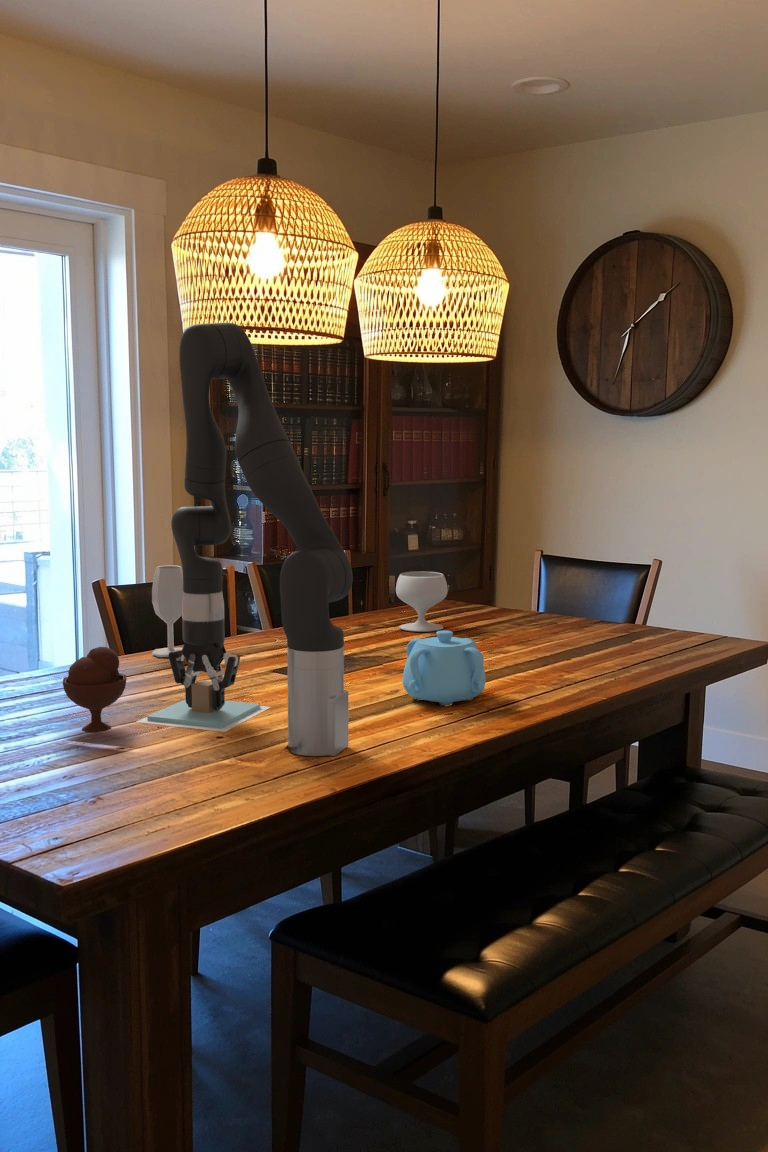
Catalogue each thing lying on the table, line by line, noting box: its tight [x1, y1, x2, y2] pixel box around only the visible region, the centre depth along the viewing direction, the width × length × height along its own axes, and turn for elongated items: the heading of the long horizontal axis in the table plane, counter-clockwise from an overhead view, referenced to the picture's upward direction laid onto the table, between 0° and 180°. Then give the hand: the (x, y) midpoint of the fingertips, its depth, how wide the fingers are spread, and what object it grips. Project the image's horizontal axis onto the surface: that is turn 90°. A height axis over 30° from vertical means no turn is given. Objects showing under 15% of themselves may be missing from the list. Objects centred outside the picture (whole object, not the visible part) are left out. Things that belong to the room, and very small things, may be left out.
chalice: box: [395, 570, 449, 633], centre depth 282 cm, size 14×14×15 cm
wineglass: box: [151, 564, 183, 658], centre depth 246 cm, size 9×9×21 cm
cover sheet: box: [146, 680, 261, 729], centre depth 191 cm, size 15×15×6 cm
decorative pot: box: [402, 630, 486, 706], centre depth 205 cm, size 16×16×14 cm
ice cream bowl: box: [62, 646, 128, 734], centre depth 181 cm, size 11×11×15 cm
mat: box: [135, 705, 272, 733], centre depth 192 cm, size 18×18×1 cm
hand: (205, 707), depth 191 cm, fingers open, 4 cm apart
